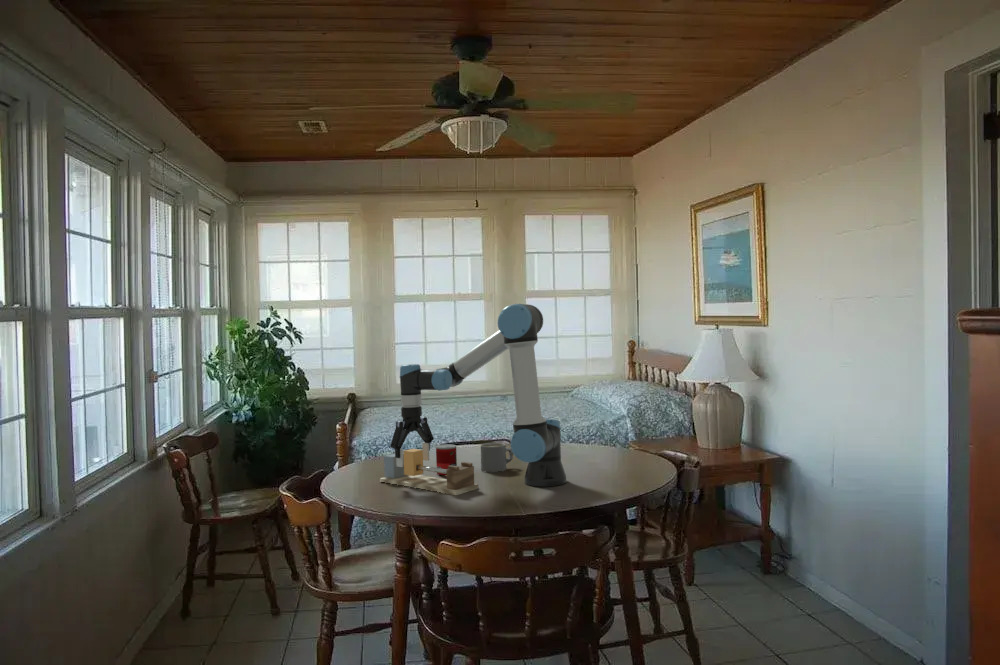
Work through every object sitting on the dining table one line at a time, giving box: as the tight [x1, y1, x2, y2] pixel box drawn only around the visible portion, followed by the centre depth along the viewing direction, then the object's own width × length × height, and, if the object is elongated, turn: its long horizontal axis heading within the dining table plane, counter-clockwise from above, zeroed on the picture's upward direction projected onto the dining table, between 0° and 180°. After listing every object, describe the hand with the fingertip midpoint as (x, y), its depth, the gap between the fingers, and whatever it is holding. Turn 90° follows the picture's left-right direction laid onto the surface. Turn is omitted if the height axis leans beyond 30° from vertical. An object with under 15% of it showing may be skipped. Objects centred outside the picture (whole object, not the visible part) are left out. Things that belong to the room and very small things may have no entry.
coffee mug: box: [480, 442, 514, 473], centre depth 281 cm, size 13×10×10 cm
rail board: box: [379, 461, 479, 496], centre depth 257 cm, size 38×12×9 cm, turn 52°
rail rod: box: [403, 463, 448, 474], centre depth 257 cm, size 29×4×4 cm, turn 52°
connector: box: [383, 453, 406, 479], centre depth 267 cm, size 5×7×8 cm
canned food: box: [435, 443, 458, 476], centre depth 275 cm, size 8×8×11 cm
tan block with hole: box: [403, 448, 424, 476], centre depth 261 cm, size 5×5×9 cm
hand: (413, 463), depth 261 cm, fingers open, 13 cm apart
